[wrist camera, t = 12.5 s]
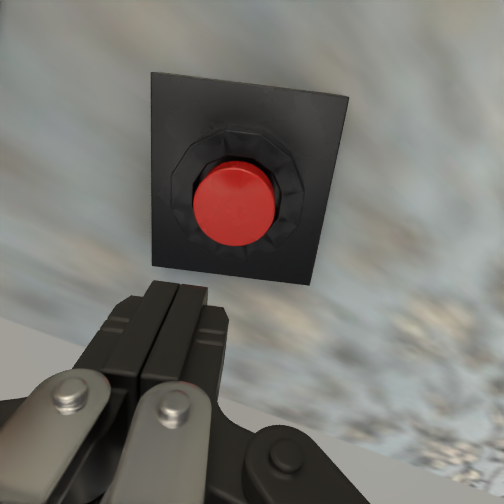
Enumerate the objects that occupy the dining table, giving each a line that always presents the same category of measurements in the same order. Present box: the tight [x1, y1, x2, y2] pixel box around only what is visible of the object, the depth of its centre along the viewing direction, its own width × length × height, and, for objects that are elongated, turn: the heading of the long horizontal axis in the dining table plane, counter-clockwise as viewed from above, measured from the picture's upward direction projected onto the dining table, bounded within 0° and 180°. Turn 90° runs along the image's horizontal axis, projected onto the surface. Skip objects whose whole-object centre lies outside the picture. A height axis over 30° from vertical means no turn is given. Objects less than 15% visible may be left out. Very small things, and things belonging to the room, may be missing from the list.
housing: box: [151, 72, 349, 286], centre depth 21 cm, size 11×10×4 cm
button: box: [193, 161, 275, 246], centre depth 19 cm, size 4×4×2 cm
